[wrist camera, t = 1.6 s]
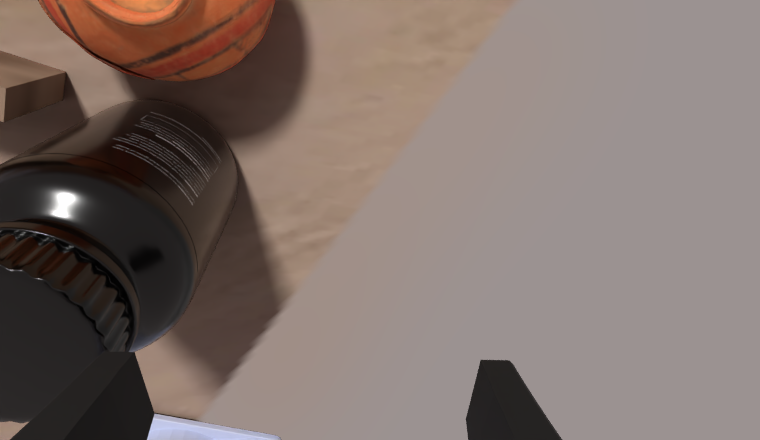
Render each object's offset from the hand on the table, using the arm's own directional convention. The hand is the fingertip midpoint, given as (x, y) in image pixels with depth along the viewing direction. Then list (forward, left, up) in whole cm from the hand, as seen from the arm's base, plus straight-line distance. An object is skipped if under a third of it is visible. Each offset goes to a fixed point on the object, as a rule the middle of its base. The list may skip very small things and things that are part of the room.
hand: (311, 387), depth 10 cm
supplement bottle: (+7, +2, -14) cm, 15 cm away
